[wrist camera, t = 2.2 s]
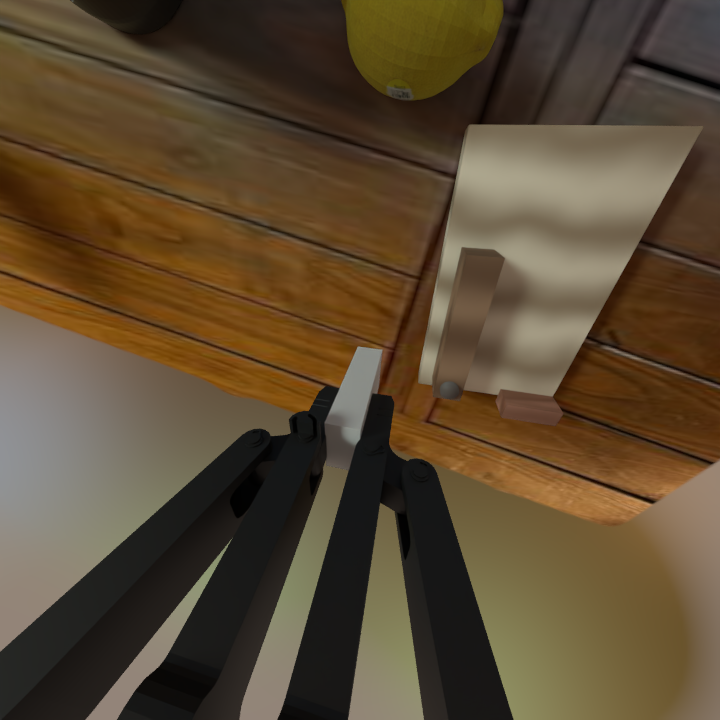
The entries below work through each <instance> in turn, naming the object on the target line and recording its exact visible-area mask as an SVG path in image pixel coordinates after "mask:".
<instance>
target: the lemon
mask: <svg viewBox="0 0 720 720" xmlns="http://www.w3.org/2000/svg"><path fill="white" fill-rule="evenodd" d="M341 2H342V6H343V8H344V11H345V15H346V26H347V38H348V45H349V50H350V53H351V56H352V58H353V61H354V63H355V65H356V67H357V69H358V70H359V72H360V73H361V75H362V76H363V77H364V78H365V79H366V80H367V82H368V83H369V84H370V85H372V86H373V87H374V88H375V89H376V90H377V91H379V92H381V93H383V94H384V95H386V96H389V97H392V98H395V99H400V100H420V99H425V98H429V97H432V96H434V95H436V94H438V93H440V92H442V91H443V90H445V89H446V88H448V87H449V86H451V85H452V84H454V83H455V82H456V81H457V80H458V79H459V78H460V77H461V76H462V75H463V74H464V73H465V72H466V71H468V70H469V69H470V68H471V67H472V66H474V65H476V64H477V63H479V62H481V61H482V60H483V59H484V58H485V57H486V56H487V54H488V53H489V51H490V49H491V47H492V45H493V43H494V41H495V39H496V36H497V33H498V29H499V26H500V24H501V21H502V18H503V1H502V0H341Z"/></svg>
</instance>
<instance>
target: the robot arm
mask: <svg viewBox="0 0 720 720" xmlns="http://www.w3.org/2000/svg"><path fill="white" fill-rule="evenodd" d="M70 1H72V2H73V3H74V4H75V5H77V6H78V7H80V8H81V9H82V10H84V11H85V12H87V13H88V14H90V15H92V16H94V17H95V18H97V19H99V20H101V21H103V22H105V23H107V24H108V25H110V26H112V27H114V28H116V29H118V30H121V31H124V32H127V33H132V34H146V33H150V32H153V31H155V30H157V29H159V28H161V27H162V26H163V25H165V24H166V23H167V22H168V21H169V20H170V18H171V17H172V16H173V15H174V13H175V12H176V10H177V8H178V6H179V5H180V3H181V0H70ZM381 358H382V350H379V349H372V348H365V347H358V348H357V350H356V352H355V355H354V357H353V359H352V362H351V364H350V366H349V368H348V371H347V373H346V375H345V378H344V380H343V382H342V384H341V387H340V388H334V387H328V386H326V387H324V388H323V389H322V390H321V391H319V393H318V395H317V397H316V399H315V400H314V402H313V405H312V406H311V408H310V410H309V411H302V412H298V413H296V414H294V415H292V417H291V418H290V419H289V423H290V430H291V433H290V434H288V435H282V436H270V434H269V432H267V431H266V430H263V429H253V430H251V431H248V432H246V433H245V434H243V435H242V436H241V437H240V438H238V439H237V440H236V441H235V442H234V443H233V444H232V445H231V446H230V447H228V448H227V449H226V450H225V451H224V452H223V453H222V454H221V455H219V456H218V457H217V458H216V459H215V460H214V461H213V462H212V463H211V464H209V465H208V466H207V467H206V468H205V469H204V470H203V471H202V472H200V473H199V474H198V475H197V476H196V477H195V478H194V479H193V480H192V481H190V482H189V483H188V484H187V485H186V486H185V487H184V488H183V489H182V490H180V491H179V492H178V493H177V494H176V495H175V496H174V497H173V498H171V499H170V500H169V501H168V502H167V503H166V504H165V505H164V506H163V507H161V508H160V509H159V510H158V511H157V512H156V513H155V514H154V515H152V516H151V517H150V518H149V519H148V520H147V521H146V522H145V523H144V524H142V525H141V526H140V527H139V528H138V529H137V530H136V531H135V532H133V533H132V534H131V535H130V536H129V537H128V538H127V539H126V540H125V541H123V542H122V543H121V544H120V545H119V546H118V547H117V548H116V549H114V550H113V551H112V552H111V553H110V554H109V555H108V556H107V557H106V558H104V559H103V560H102V561H101V562H100V563H99V564H98V565H97V566H95V567H94V568H93V569H92V570H91V571H90V572H89V573H88V574H87V575H85V576H84V577H83V578H82V579H81V580H80V581H79V582H78V583H76V584H75V585H74V586H73V587H72V588H71V589H70V590H69V591H68V592H66V593H65V595H63V596H62V597H61V598H60V599H59V600H58V601H56V602H55V603H54V604H53V605H52V606H51V607H50V608H49V609H47V610H46V611H45V612H44V613H43V614H42V615H41V616H40V617H39V618H37V619H36V620H35V621H34V622H33V623H32V624H31V625H30V626H28V627H27V628H26V629H25V630H24V631H23V632H22V633H21V634H20V635H18V636H17V637H16V638H15V639H14V640H13V641H12V642H11V643H10V644H8V646H6V647H5V648H4V649H3V650H2V651H1V652H0V720H85V719H86V718H87V717H88V716H89V714H91V712H92V711H93V710H94V709H95V707H96V706H97V705H98V704H99V702H100V701H101V700H102V699H103V697H104V696H105V695H106V694H107V693H108V691H109V690H110V689H111V688H112V686H113V685H114V684H115V683H116V681H117V680H118V679H119V678H120V676H121V675H122V674H123V673H124V671H125V670H126V669H127V668H128V667H129V665H130V664H131V663H132V662H133V660H134V659H135V658H136V657H137V655H138V654H139V653H140V652H141V650H142V649H143V648H144V647H145V645H146V644H147V643H148V642H149V640H150V639H151V638H152V637H153V635H154V634H155V633H156V632H157V631H158V629H159V628H160V627H161V626H162V624H163V623H164V622H165V621H166V619H167V618H168V617H169V616H170V615H171V613H172V612H173V611H174V610H175V608H176V607H177V606H178V604H179V603H180V602H181V601H182V600H183V598H184V597H185V596H186V595H187V593H188V592H189V591H190V590H191V588H192V587H193V586H194V585H195V583H196V582H197V581H198V580H199V578H200V577H201V576H202V575H203V574H204V572H205V571H206V570H207V569H208V567H209V566H210V565H211V564H212V562H213V561H214V560H215V559H216V558H217V556H218V555H219V554H220V553H221V551H222V550H223V549H224V548H225V546H226V545H227V544H228V543H229V541H230V540H231V539H232V540H231V542H230V544H229V545H228V548H227V549H226V551H225V553H224V554H223V556H222V558H221V560H220V562H219V563H218V565H217V567H216V569H215V571H214V573H213V574H212V576H211V578H210V580H209V582H208V584H207V585H206V587H205V589H204V590H203V592H202V594H201V596H200V598H199V599H198V601H197V603H196V605H195V607H194V608H193V610H192V612H191V614H190V616H189V618H188V619H187V621H186V623H185V625H184V626H183V628H182V630H181V632H180V634H179V635H178V637H177V639H176V641H175V643H174V644H173V646H172V648H171V650H170V652H169V653H168V655H167V657H166V658H165V660H164V661H163V662H162V664H161V665H160V666H159V667H158V668H157V669H156V670H155V671H154V672H152V673H151V674H150V675H149V676H148V677H146V678H145V679H144V681H143V682H142V683H141V684H140V685H139V687H138V688H137V689H136V690H135V692H134V693H133V695H132V696H131V698H130V699H129V701H128V703H127V704H126V706H125V707H124V709H123V710H122V712H121V714H120V715H119V717H118V719H117V720H239V717H240V711H241V705H242V701H243V698H244V695H245V692H246V689H247V686H248V683H249V680H250V678H251V675H252V672H253V669H254V667H255V664H256V661H257V658H258V656H259V653H260V650H261V647H262V644H263V642H264V639H265V636H266V633H267V630H268V627H269V625H270V622H271V619H272V616H273V614H274V611H275V608H276V605H277V602H278V600H279V597H280V594H281V591H282V589H283V586H284V583H285V580H286V577H287V575H288V572H289V569H290V566H291V563H292V560H293V558H294V555H295V552H296V549H297V546H298V544H299V541H300V538H301V535H302V533H303V530H304V527H305V524H306V521H307V518H308V516H309V513H310V510H311V508H312V505H313V502H314V499H315V496H316V494H317V491H318V488H319V485H320V482H321V480H322V477H323V466H324V463H325V461H326V465H327V466H331V467H336V468H341V469H346V470H349V472H348V475H347V479H346V482H345V486H344V489H343V493H342V497H341V500H340V504H339V507H338V511H337V515H336V518H335V522H334V525H333V529H332V533H331V536H330V540H329V544H328V547H327V551H326V554H325V558H324V561H323V565H322V569H321V572H320V576H319V579H318V583H317V587H316V590H315V594H314V597H313V601H312V605H311V608H310V612H309V615H308V619H307V623H306V626H305V630H304V633H303V637H302V641H301V644H300V648H299V651H298V655H297V658H296V662H295V666H294V669H293V673H292V677H291V680H290V684H289V687H288V691H287V694H286V698H285V701H284V704H283V707H282V710H281V713H280V715H279V717H278V720H348V716H349V709H350V703H351V696H352V689H353V683H354V676H355V669H356V661H357V655H358V648H359V642H360V635H361V628H362V621H363V615H364V608H365V601H366V594H367V587H368V581H369V574H370V567H371V560H372V554H373V547H374V540H375V533H376V527H377V519H378V512H379V506H380V503H382V504H384V505H385V506H387V507H389V508H390V509H392V510H394V511H395V517H396V524H397V531H398V538H399V545H400V552H401V559H402V566H403V573H404V580H405V588H406V594H407V602H408V609H409V616H410V623H411V630H412V637H413V644H414V651H415V658H416V665H417V672H418V679H419V686H420V694H421V699H422V700H421V701H422V708H423V715H424V720H513V717H512V714H511V710H510V707H509V704H508V701H507V697H506V694H505V691H504V688H503V685H502V681H501V678H500V675H499V672H498V668H497V665H496V662H495V659H494V656H493V652H492V649H491V646H490V643H489V640H488V636H487V633H486V630H485V626H484V623H483V620H482V617H481V614H480V610H479V607H478V604H477V601H476V597H475V594H474V591H473V588H472V585H471V581H470V578H469V575H468V572H467V568H466V565H465V562H464V559H463V556H462V552H461V549H460V546H459V543H458V539H457V536H456V533H455V530H454V527H453V523H452V520H451V517H450V514H449V510H448V507H447V504H446V501H445V498H444V494H443V492H442V488H441V485H440V481H439V478H438V475H437V472H436V471H435V469H434V467H433V466H432V465H431V464H430V463H429V462H427V461H424V460H422V459H410V460H409V461H406V460H404V459H402V458H400V457H398V456H397V455H396V454H395V453H394V452H393V451H392V450H391V448H390V445H389V437H390V430H391V423H392V416H393V409H394V401H393V399H392V397H391V396H387V395H381V394H377V391H378V387H379V379H380V368H381Z"/></svg>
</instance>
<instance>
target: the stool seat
mask: <svg viewBox="0 0 720 720" xmlns="http://www.w3.org/2000/svg"><path fill="white" fill-rule="evenodd" d="M703 127H704V126H606V125H469V126H468V127H467V129H466V130H465V135H464V140H463V145H462V150H461V155H460V161H459V166H458V171H457V176H456V181H455V187H454V192H453V197H452V202H451V207H450V213H449V218H448V223H447V228H446V233H445V239H444V244H443V249H442V254H441V259H440V265H439V270H438V275H437V280H436V285H435V291H434V296H433V301H432V306H431V311H430V317H429V322H428V327H427V332H426V337H425V343H424V348H423V353H422V358H421V363H420V369H419V380H418V383H421V384H428V385H432V375H433V371H434V366H435V362H436V358H437V353H438V349H439V344H440V340H441V336H442V331H443V327H444V322H445V318H446V314H447V309H448V305H449V301H450V296H451V292H452V287H453V283H454V279H455V274H456V270H457V265H458V261H459V257H460V252H461V248H462V247H467V248H480V249H494V250H496V251H497V252H498V253H499V254H501V255H502V256H503V257H504V258H505V260H504V263H503V267H502V270H501V273H500V276H499V279H498V282H497V285H496V289H495V292H494V295H493V298H492V301H491V304H490V308H489V311H488V314H487V317H486V320H485V323H484V326H483V330H482V333H481V336H480V339H479V342H478V345H477V349H476V352H475V355H474V358H473V361H472V364H471V367H470V371H469V374H468V377H467V380H466V383H465V386H464V390H468V391H474V392H481V393H487V394H494V395H498V396H497V399H496V404H497V407H498V410H499V412H500V415H501V417H502V418H508V419H515V420H521V421H527V422H533V423H539V424H545V425H552V426H556V425H557V423H558V422H559V420H560V418H561V417H562V415H563V412H562V410H561V409H560V407H559V406H558V404H557V403H556V401H555V399H554V398H553V395H554V393H555V392H556V390H557V388H558V386H559V384H560V383H561V381H562V379H563V377H564V376H565V374H566V372H567V370H568V368H569V367H570V365H571V363H572V361H573V359H574V358H575V356H576V354H577V352H578V350H579V349H580V347H581V345H582V343H583V342H584V340H585V338H586V336H587V334H588V333H589V331H590V329H591V327H592V325H593V324H594V322H595V320H596V318H597V316H598V315H599V313H600V311H601V309H602V308H603V306H604V304H605V302H606V300H607V299H608V297H609V295H610V293H611V291H612V290H613V288H614V286H615V284H616V282H617V281H618V279H619V277H620V275H621V273H622V272H623V270H624V268H625V266H626V265H627V263H628V261H629V259H630V257H631V256H632V254H633V252H634V250H635V248H636V247H637V245H638V243H639V241H640V239H641V238H642V236H643V234H644V232H645V231H646V229H647V227H648V225H649V223H650V222H651V220H652V218H653V216H654V214H655V213H656V211H657V209H658V207H659V205H660V204H661V202H662V200H663V198H664V197H665V195H666V193H667V191H668V189H669V188H670V186H671V184H672V182H673V180H674V179H675V177H676V175H677V173H678V171H679V170H680V168H681V166H682V164H683V162H684V161H685V159H686V157H687V155H688V154H689V152H690V150H691V148H692V146H693V145H694V143H695V141H696V139H697V137H698V136H699V134H700V132H701V130H702V128H703Z"/></svg>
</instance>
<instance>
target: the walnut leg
mask: <svg viewBox="0 0 720 720" xmlns="http://www.w3.org/2000/svg"><path fill="white" fill-rule="evenodd" d="M504 260H505V258H504V257H503V256H502V255H501V254H499V253H498V252H497V251H496V250H494V249H480V248H467V247H462V248H461V252H460V257H459V261H458V265H457V270H456V274H455V279H454V283H453V287H452V292H451V296H450V301H449V305H448V309H447V314H446V318H445V322H444V327H443V331H442V336H441V340H440V344H439V349H438V353H437V358H436V362H435V366H434V371H433V375H432V387H433V397H437V398H443V399H450V400H456V401H460V399H461V396H462V393H463V390H464V386H465V383H466V380H467V377H468V374H469V371H470V367H471V364H472V361H473V358H474V355H475V352H476V349H477V345H478V342H479V339H480V336H481V333H482V330H483V326H484V323H485V320H486V317H487V314H488V311H489V308H490V304H491V301H492V298H493V295H494V292H495V289H496V285H497V282H498V279H499V276H500V273H501V270H502V267H503V263H504Z"/></svg>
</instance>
